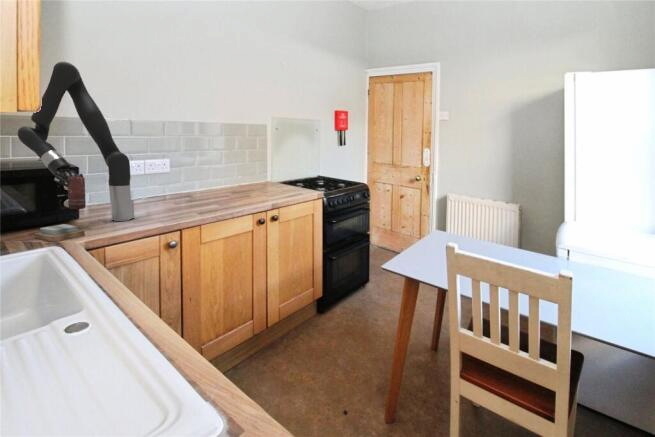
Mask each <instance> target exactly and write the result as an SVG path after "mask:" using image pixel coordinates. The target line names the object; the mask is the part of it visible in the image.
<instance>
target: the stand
mask: <svg viewBox="0 0 655 437" xmlns="http://www.w3.org/2000/svg"><path fill="white" fill-rule="evenodd" d="M39 229H40V232H36V233H35V232H34V234H33V236H34V239H37V240H42V241H47V242H51V241H55V242H60V241H64V240H70V239H75V238H79V237H85V236H86V233H85V230H82V229H79V226H77V225H71V224H65V223H63V224H56V225H52V226H51V225H50V226H46V227H40V228H39Z"/></svg>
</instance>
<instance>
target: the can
mask: <svg viewBox="0 0 655 437" xmlns="http://www.w3.org/2000/svg"><path fill="white" fill-rule="evenodd" d="M85 180H86V178H85V177H84V175H83V176H74V177H73V176H71V177H70V176H68V182H69V186H68V187H67V193H68V194H67V195H68V196H67V198H68V208H69V209H71V210H84V209H85V208H86V206H87V205H86V203H87V202H86V181H85ZM81 190H84V191H81Z"/></svg>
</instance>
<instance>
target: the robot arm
mask: <svg viewBox="0 0 655 437" xmlns="http://www.w3.org/2000/svg"><path fill="white" fill-rule="evenodd" d="M66 92H67V93H68V95H69V96H70V98H71V100H72V102H73V105H74V107H75V110H76V113H77V116H78V117H79V119H80V120H81V123H82V124H83V126H84V127H85V129H86V131H87V132H88V134H89V135H90V137H91V139H93V141H94V143H95V144H96V146H97V147H98V149H99V150H100V153H101V156H102V158H103V160H104V162H105V165H106V166H107V167H108V180H107V181H108V189H109V190H108V192H109V201H110V214H111V220H114V221H113V222H124V221H125V222H126V221H131V220H130V219H132V218H135V207H134V200H133V199H132V191H131V177H132V176H131V163H130V159H129V157H128V156H127V155H126V154H125V153H122V152H121V150H120V149H119V147H118V146H117V144H116V143H115V141H114V139H113V136H112V132H111V130H110V127H109V125H108V123H107V120H106V119H105V116H104V115H103V113H102V111H101V110H100V108H99V106H98V105H97V103H96V102H95V101H94V99H93V97H92V96H91V95H90V93H89V91H88V90H87V87H86V85H85V83H84V81H83V78H82V77H81V73H80V71H79V70H78V68H77V67H76V66H75V65H74V64H72V63H70V62H67V61H60V62H59V61H58V62H57V63H55V64H54V66H53V69H52V73H51V76H50V79H49V83H48V85H47V87H46V89H45V91H44V93H43V95H42V97H41V98H42V106H41V110H40V111H39V112H36V113H34V112H33V113H32V115H31V116H30V117H31V118H30V120H31V122H33V123H35V126H34V127H31V126H21V127H19V129H18V130H17V137H18V139H19V141H20V142H22V144H23V145H24V146H26V147H27V148H28V149H30V150H31V151H32V152H34V153H35V154H36V155H37V156H38V158H39V160H41V161H42V162H43V164H44V166H45V167H46V168H47V169H48V170H49V171H50V172H51V174H52V175H53V176H55V177H54V179H53V181H54V183H57V184H59V185H61V186H63V187H66V188H68V186H69V182H68V176H70V177H71V176H73V177H74V176H83V177H84V174H83V173H80V174H78V173H77V172H76V171H75V170H73V168H72V165H71V164H70V163H69V162H68V161H67V160H66V159H65V157H64V156H63V155H62V154H61V153H60V152H58V151H57V149H56V148H55V146H53V145H52V144H51V143H50V142H48V141H47V140H48V138H49V133H50V128H51V124H52V122H53V120H54V118H55V116H56V114H57V113H58V111H59V110H58V109H59V108H60V104H61V102H62V99H63V98H64V95H65V94H66ZM81 191H84V190H81ZM132 220H133V219H132Z"/></svg>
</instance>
